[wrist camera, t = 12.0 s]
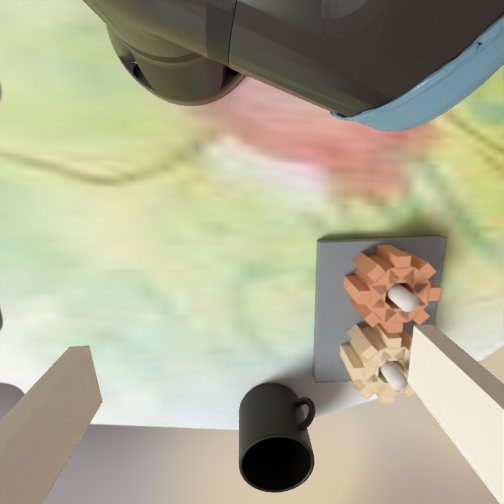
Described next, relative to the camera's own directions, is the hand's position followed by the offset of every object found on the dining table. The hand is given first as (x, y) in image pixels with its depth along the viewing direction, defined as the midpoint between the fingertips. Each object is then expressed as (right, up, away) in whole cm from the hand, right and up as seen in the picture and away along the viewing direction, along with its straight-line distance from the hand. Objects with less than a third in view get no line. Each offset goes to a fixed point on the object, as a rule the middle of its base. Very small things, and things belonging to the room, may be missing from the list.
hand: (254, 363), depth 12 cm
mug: (+4, -18, +33) cm, 38 cm away
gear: (+16, +1, +26) cm, 31 cm away
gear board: (+17, -3, +29) cm, 34 cm away
